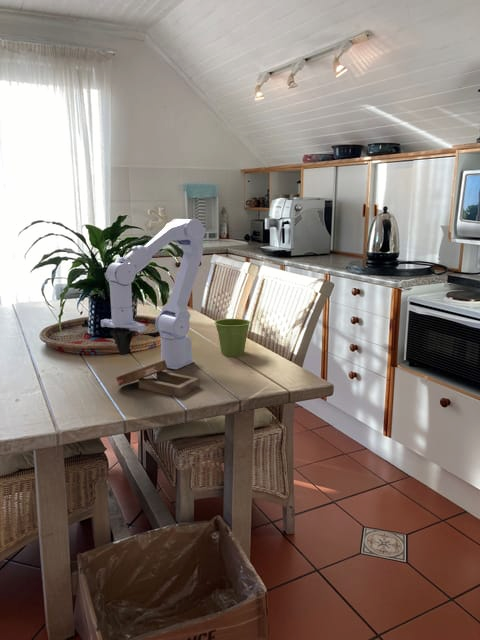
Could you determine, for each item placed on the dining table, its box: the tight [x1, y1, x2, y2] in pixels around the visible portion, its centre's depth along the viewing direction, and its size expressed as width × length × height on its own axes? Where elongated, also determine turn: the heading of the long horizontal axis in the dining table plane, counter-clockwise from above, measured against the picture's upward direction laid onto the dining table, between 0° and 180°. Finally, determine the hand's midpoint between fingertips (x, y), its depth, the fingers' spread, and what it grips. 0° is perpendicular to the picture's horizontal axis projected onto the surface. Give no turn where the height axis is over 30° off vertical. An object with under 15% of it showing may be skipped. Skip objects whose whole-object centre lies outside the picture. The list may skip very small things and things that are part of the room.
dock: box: [138, 370, 201, 398], centre depth 140 cm, size 9×14×2 cm, turn 60°
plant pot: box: [213, 318, 252, 357], centre depth 171 cm, size 12×12×11 cm
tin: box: [115, 360, 168, 387], centre depth 143 cm, size 15×3×8 cm
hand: (124, 354), depth 147 cm, fingers closed
